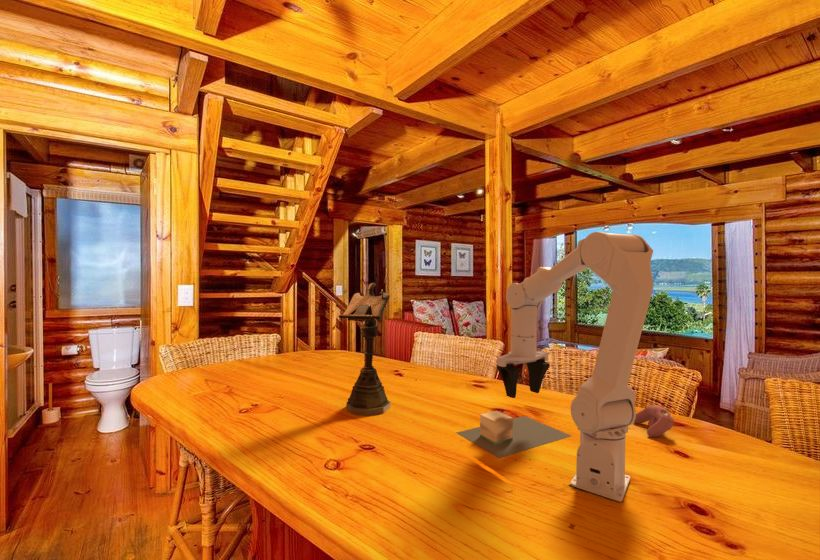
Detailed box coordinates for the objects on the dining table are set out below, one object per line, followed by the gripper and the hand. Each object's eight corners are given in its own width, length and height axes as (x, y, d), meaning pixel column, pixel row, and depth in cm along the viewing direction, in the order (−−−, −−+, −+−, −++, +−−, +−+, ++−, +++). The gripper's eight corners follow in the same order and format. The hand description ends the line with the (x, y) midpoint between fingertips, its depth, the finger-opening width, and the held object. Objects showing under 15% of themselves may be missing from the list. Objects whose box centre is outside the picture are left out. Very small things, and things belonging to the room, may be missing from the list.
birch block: (512, 417, 83) (512, 440, 83) (497, 410, 88) (496, 432, 88) (495, 421, 81) (495, 445, 81) (480, 414, 85) (479, 436, 85)
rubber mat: (499, 461, 75) (499, 458, 75) (456, 435, 87) (456, 432, 87) (571, 438, 86) (571, 435, 86) (524, 418, 98) (524, 415, 98)
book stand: (378, 425, 92) (380, 281, 92) (330, 418, 96) (332, 280, 96) (400, 404, 108) (402, 280, 108) (358, 399, 112) (359, 280, 112)
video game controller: (666, 446, 86) (682, 419, 86) (646, 435, 87) (662, 409, 87) (647, 429, 96) (661, 405, 96) (630, 419, 97) (643, 396, 96)
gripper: (532, 331, 95) (531, 385, 95) (487, 335, 88) (487, 394, 88) (555, 335, 89) (555, 393, 89) (510, 339, 82) (509, 403, 82)
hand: (523, 394), depth 88 cm, fingers open, 7 cm apart
